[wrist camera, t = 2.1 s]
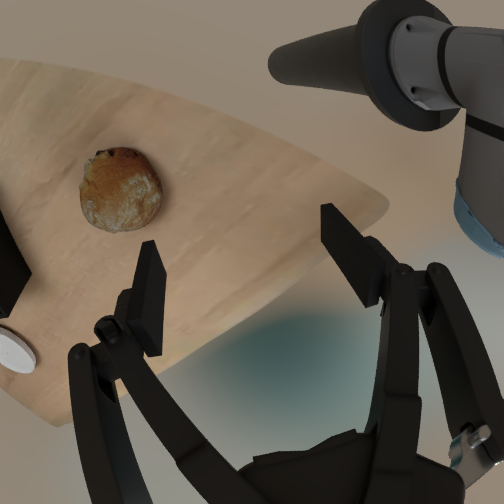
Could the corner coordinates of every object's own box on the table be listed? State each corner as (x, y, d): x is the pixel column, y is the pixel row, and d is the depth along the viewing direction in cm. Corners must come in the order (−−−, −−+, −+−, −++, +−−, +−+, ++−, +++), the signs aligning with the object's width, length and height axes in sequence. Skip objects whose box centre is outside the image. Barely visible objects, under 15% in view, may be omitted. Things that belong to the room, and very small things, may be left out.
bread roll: (103, 207, 36) (99, 256, 32) (69, 155, 27) (54, 206, 23) (169, 187, 37) (173, 236, 33) (145, 126, 28) (142, 175, 24)
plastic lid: (1, 314, 38) (-4, 323, 36) (48, 357, 46) (45, 367, 44) (-22, 331, 39) (-26, 339, 37) (19, 368, 47) (17, 377, 45)
